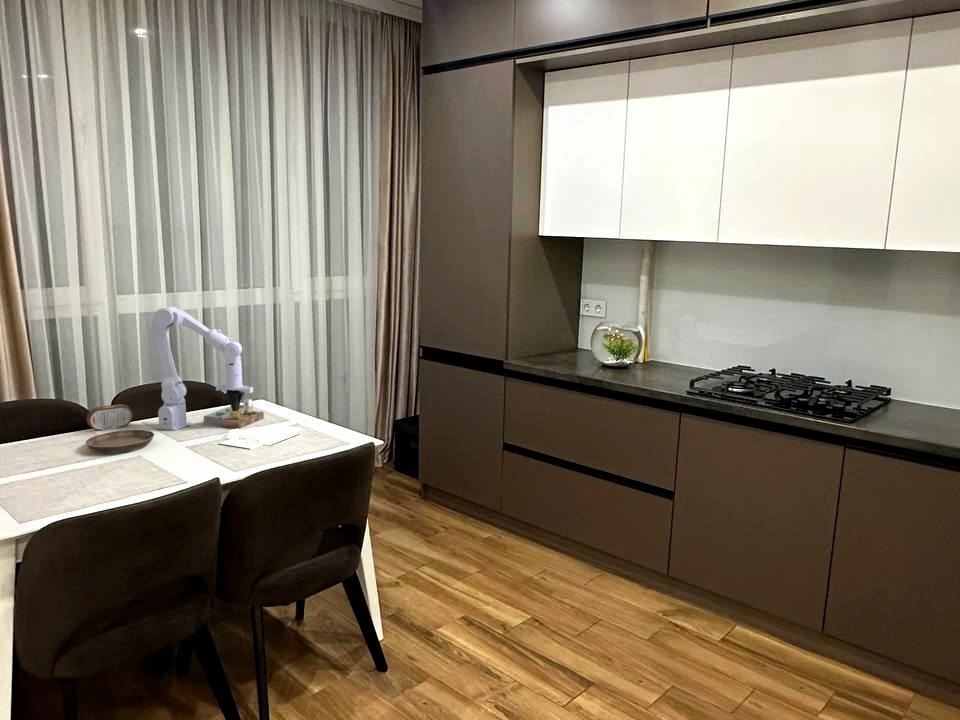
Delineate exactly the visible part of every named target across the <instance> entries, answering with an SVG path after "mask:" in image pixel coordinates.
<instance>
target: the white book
mask: <svg viewBox="0 0 960 720" xmlns="http://www.w3.org/2000/svg"><path fill="white" fill-rule="evenodd" d="M302 430H303V428H302V427H295V426H289V425H288V426H287V425H282V424H275V423H273V424H270V425H267V426H265V427H257V426H254V427H250V428H247V429H245V430H243V429H242V428H240V429H235V428H231V429H230V430H228V433H227V435H226V436H224V437H223V439H224V441H222V442H221V441H220V442H218V444H217V445H227V446H233V447H239V448H245V449H249V450H251V451H252V450H253V449H255V448H258V447H261V446H267V447H270V446H272V445H275V444H277V443H279V442H281V441H284V440H287V439H289V438H292V437H294V436H297V435H301V434H300V433H298V432H301V431H302Z"/></svg>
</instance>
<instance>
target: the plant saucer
mask: <svg viewBox="0 0 960 720" xmlns="http://www.w3.org/2000/svg"><path fill="white" fill-rule="evenodd" d="M154 437H155V433H154V432H152V431H149V430H146V429H126V430H116V431H115V430H114V431H110V432H105V433H101V434H98V435H94V436H91V437H90V438H88V439H86V441H85V444H86V446H87V447H88V448H89V449H90V450H92V451H94V452H96V453H99V454H122V453H129V452H135V451H138V450H140V449H143V448H145V447H146V446H148V445H149V444H150V443H151V442H152V440H153V439H154Z"/></svg>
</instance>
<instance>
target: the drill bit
mask: <svg viewBox="0 0 960 720" xmlns="http://www.w3.org/2000/svg"><path fill="white" fill-rule="evenodd" d="M243 405H244V415H249V416H251V415H253V411H254V410H253V409H254V408H253V407H254V406H253V399H252V398H244V399H243Z"/></svg>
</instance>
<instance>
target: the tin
mask: <svg viewBox="0 0 960 720" xmlns="http://www.w3.org/2000/svg"><path fill="white" fill-rule="evenodd" d="M133 414H134V413H133V411H132V410H131V408H130V407H129V406H128V405H127V404H123V403H122V404H119V403H118V404H113V405H103V406H96V407H94V408H92V409H90V411H89V412H88V413H87V415H86V423H87V425H88V426H89V427H90V428H92V429H93V430H95V431H103V430H102V429H107V430H109V429H108V428H113V427H121V428H124V426H125V427H127V426H128V425H129V424H131V422H132V421H133V418H134V415H133Z"/></svg>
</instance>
